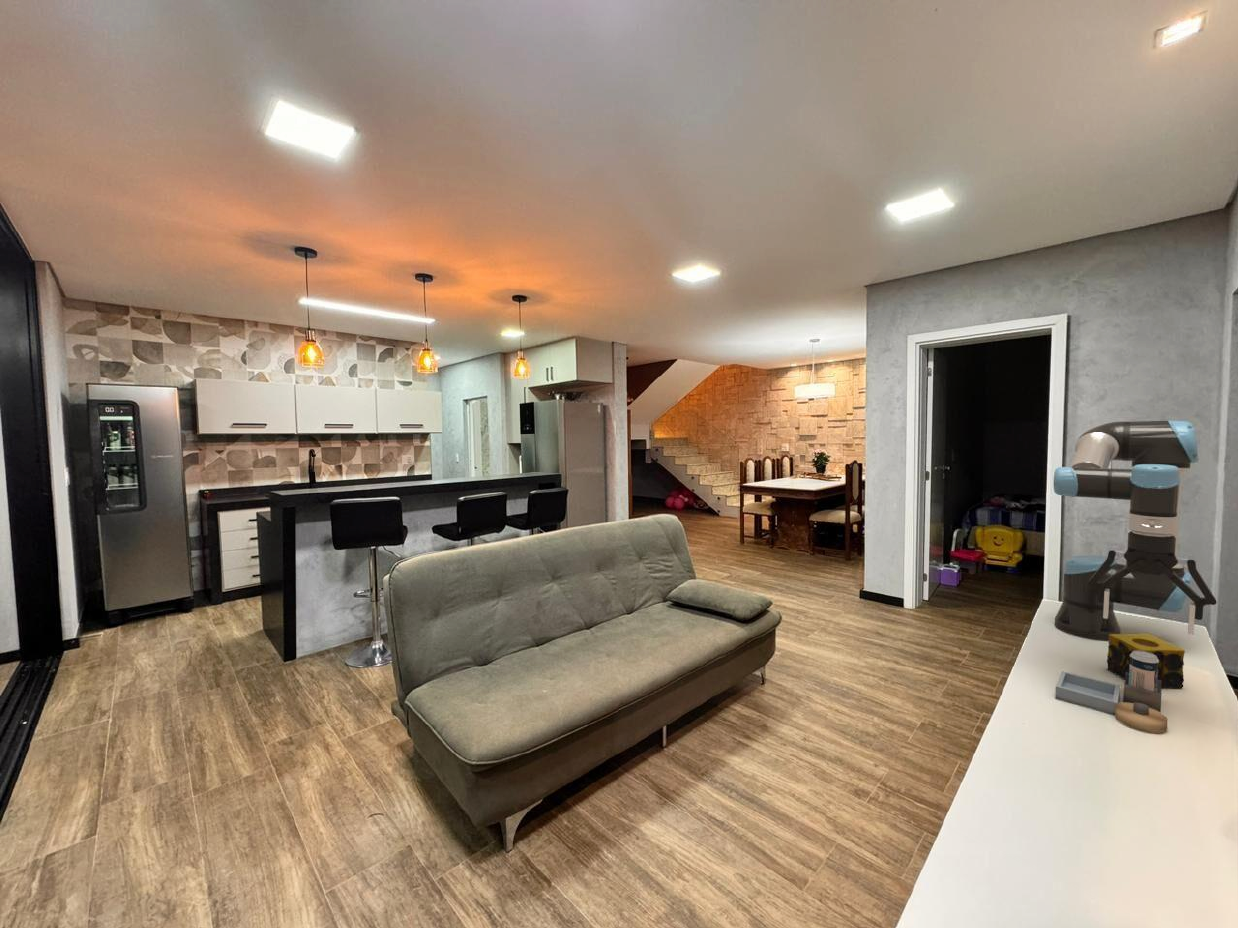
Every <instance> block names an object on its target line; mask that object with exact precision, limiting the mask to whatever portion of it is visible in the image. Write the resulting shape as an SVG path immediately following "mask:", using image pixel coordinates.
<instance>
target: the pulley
mask: <svg viewBox="0 0 1238 928" xmlns="http://www.w3.org/2000/svg"><path fill="white" fill-rule="evenodd" d="M1114 718H1115V719H1116V720H1117V721H1118V722H1119V723H1121V724H1122V725H1125V726H1126V727H1128V728H1131V729H1133V730H1137V731H1139V732H1142V733H1146V734H1147V733H1149V734H1154V735H1155V734H1156V735H1159V734H1162V735H1163V734H1166V733H1167V732H1168V717H1167V716H1166V715H1165V714H1164V713H1162V712H1161V713H1160V712H1159V711H1157V710H1154V709H1152V708H1149V706H1147V705H1145V704H1143V703H1138V702H1135V703H1127V702H1123V701H1121V702H1119V703H1118V705H1116V706H1115V715H1114Z"/></svg>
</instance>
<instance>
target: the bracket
mask: <svg viewBox="0 0 1238 928" xmlns="http://www.w3.org/2000/svg"><path fill="white" fill-rule="evenodd" d="M1161 684H1162V680H1159V679H1157V692H1154V691H1150V690H1146V689H1142V688H1138V687H1134V686H1130V685H1129V672H1126V674H1125V679H1124V683H1123V691H1122V695H1123V696H1122V702H1127V703H1135V702H1138V703H1143V704H1145V705H1147V706H1149V708H1152V709H1154V710H1157V711H1159V712H1160V713H1162V712H1161V709H1162V688H1161Z"/></svg>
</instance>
